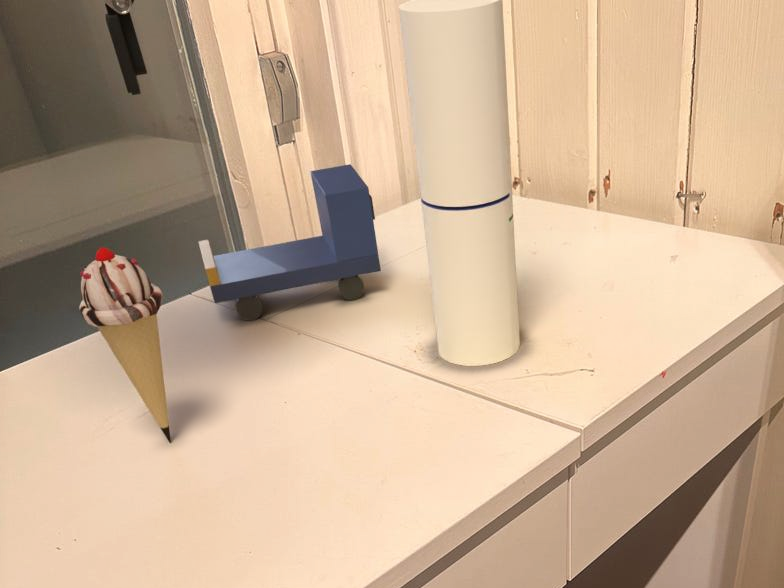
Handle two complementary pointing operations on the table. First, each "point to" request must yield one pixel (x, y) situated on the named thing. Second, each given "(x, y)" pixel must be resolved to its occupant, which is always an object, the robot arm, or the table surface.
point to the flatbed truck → (305, 249)
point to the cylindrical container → (464, 173)
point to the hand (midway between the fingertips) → (54, 103)
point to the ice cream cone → (128, 323)
